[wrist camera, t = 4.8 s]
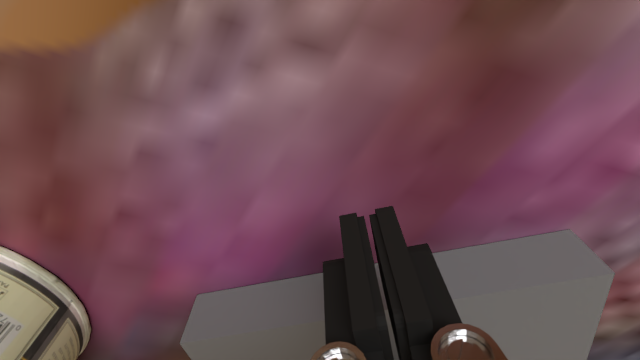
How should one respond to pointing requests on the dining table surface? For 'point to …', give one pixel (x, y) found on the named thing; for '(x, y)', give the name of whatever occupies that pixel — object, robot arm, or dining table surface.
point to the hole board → (465, 290)
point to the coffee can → (38, 313)
